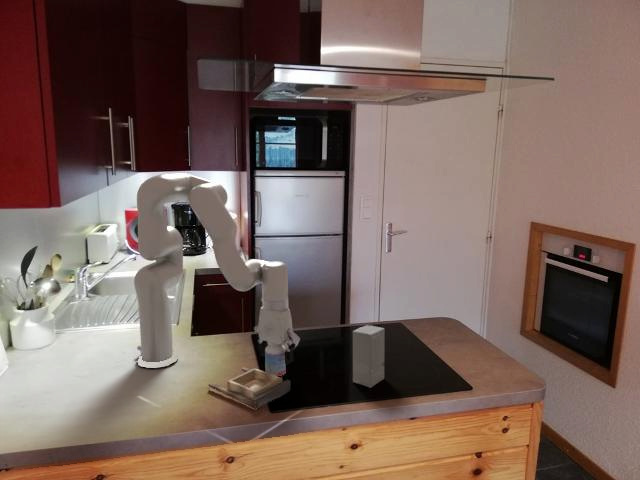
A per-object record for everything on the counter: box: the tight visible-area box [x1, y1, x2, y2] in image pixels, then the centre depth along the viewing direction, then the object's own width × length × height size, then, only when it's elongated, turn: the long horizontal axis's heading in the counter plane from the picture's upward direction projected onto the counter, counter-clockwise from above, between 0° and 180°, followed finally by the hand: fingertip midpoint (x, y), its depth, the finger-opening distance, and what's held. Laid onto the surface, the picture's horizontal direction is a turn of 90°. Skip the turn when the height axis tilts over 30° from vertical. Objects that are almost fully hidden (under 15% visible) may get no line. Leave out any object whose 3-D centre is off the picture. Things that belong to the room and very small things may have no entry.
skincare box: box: [352, 324, 386, 389], centre depth 149 cm, size 8×7×16 cm
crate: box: [227, 367, 283, 399], centre depth 140 cm, size 11×11×4 cm
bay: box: [207, 366, 291, 409], centre depth 142 cm, size 18×14×4 cm
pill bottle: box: [264, 342, 287, 377], centre depth 152 cm, size 6×6×11 cm
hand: (276, 358), depth 152 cm, fingers open, 9 cm apart
